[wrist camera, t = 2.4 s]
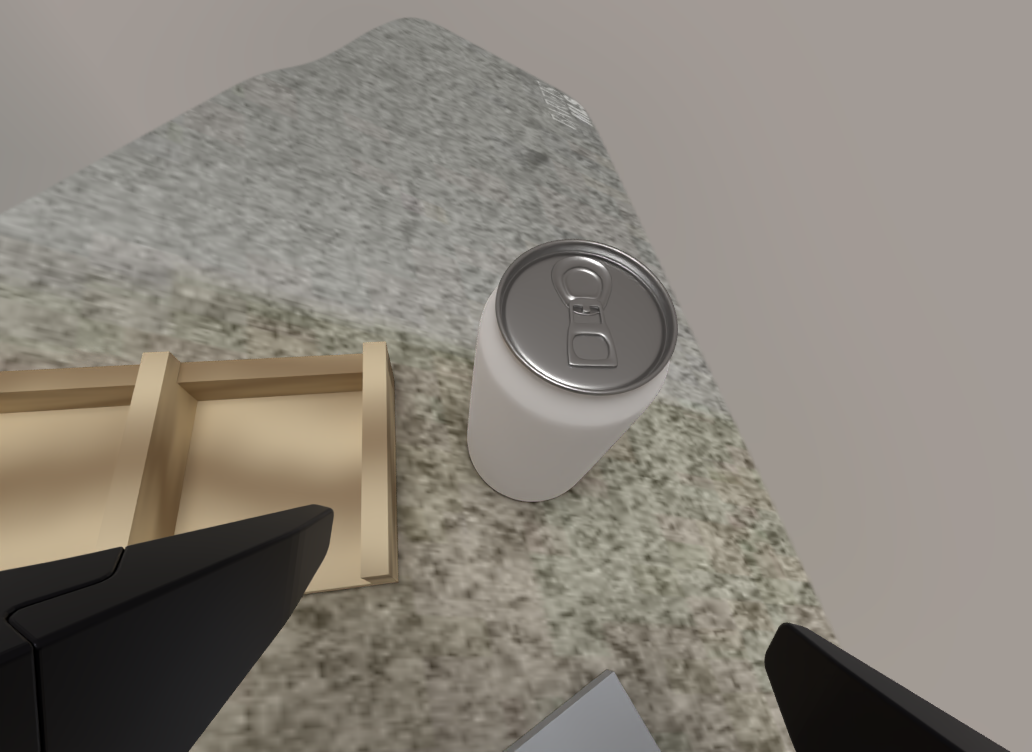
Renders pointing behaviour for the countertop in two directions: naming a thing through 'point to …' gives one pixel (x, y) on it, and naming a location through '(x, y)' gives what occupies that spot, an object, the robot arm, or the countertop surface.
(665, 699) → the countertop surface
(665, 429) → the countertop surface
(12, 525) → the rack
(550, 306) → the can
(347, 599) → the countertop surface
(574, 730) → the block
